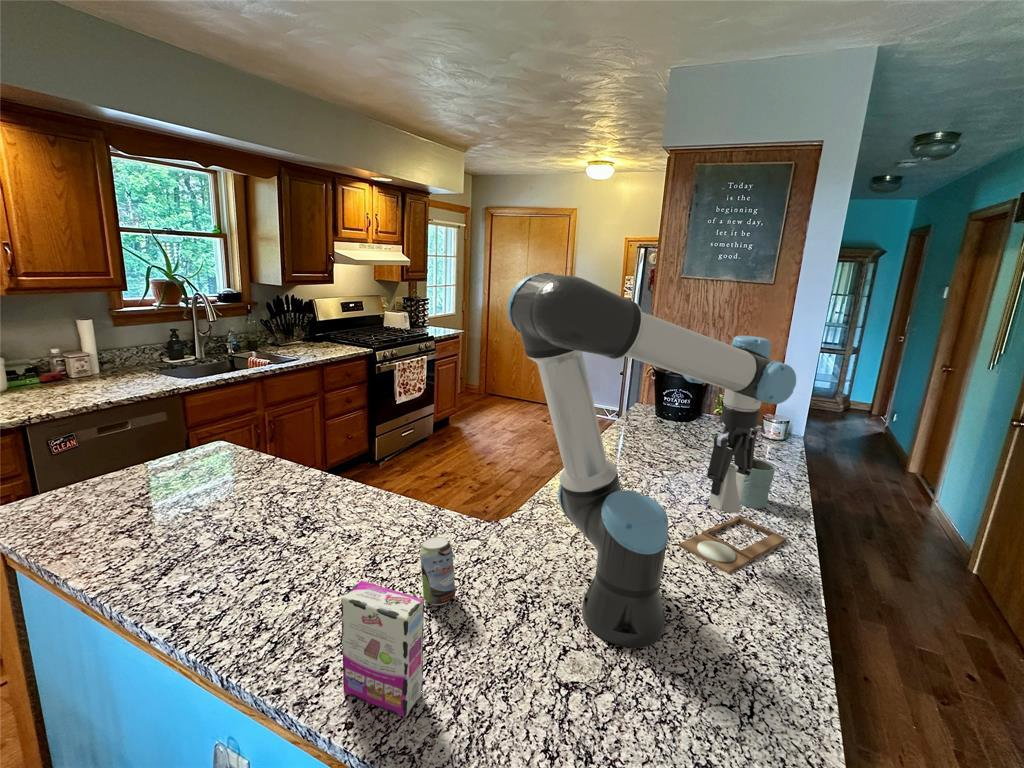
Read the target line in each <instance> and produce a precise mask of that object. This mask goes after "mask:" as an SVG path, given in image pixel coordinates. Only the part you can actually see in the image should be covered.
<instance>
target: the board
mask: <svg viewBox="0 0 1024 768" xmlns="http://www.w3.org/2000/svg"><path fill="white" fill-rule="evenodd" d="M738 523H742V524H743V525H746V526H747V527H750V528H751V529H753V530H756V531H758V532H761V533H762V534H764V535H766V537H764V538H763V539H761V540H758V541H757V542H754V543H753V544H750V545H749V546H747V547H745V548H743V549H741V550H740V549H739V548H737V547H735V546H734V545H731V544H730V543H728V542H725V541H724V540H722V539H719V538H718V537H716V536H714V535H713V534H716V533H718V532H720V531H722V530H724V529H727V528H729V527H731V526H734V525H736V524H738ZM787 541H788V537H785V536H783V535H781V534H779V533H778V532H776V531H775V532H774V531H772V530H770V529H768V528H766V527H763V526H761V525H760V524H757V523H755V522H753V521H751V520H748V519H746V518H744V517H741V516H740V515H737V516H736V517H733V518H731V519H729V520H726V521H724V522H722V523H720V524H716V525H715V526H712V527H710V528H708V529H706V530H704V531H701V533H700V534H697V535H695V536H692V537H691V538H688V539H686V540H684V541H682V542H679V543H678V547H680V548H682V549H684V550H686V551H688V552H689V553H691V554H692V555H694V556H696V557H698V558H699V559H702V560H704V561H705V562H707V563H709V564H710V565H712V566H713V567H716V568H717V569H719V570H721V571H723V572H725V573H726V574H730V573H732V572H734V571H736V570H738V569H739V568H741V567H743V566H745V565H747V564H749V563H750V562H752V561H754V560H756V559H758V558H760V557H761V556H763V555H765V554H767V553H768V552H771V551H773V550H774V549H776V548H777V547H778V548H779V547H780V546H783V544H785V543H787Z"/></svg>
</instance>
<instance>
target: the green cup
mask: <svg viewBox="0 0 1024 768" xmlns="http://www.w3.org/2000/svg"><path fill="white" fill-rule="evenodd" d="M747 464H748V463H747ZM748 471H750V472H751V473H750V475H749V476H748V475H746V474H745V478H744V484H743V489H742V495H741V500H740V504H741V506H743V507H747V508H750V509H757V510H758V509H764V508H766V506H767V503H768V500H769V494H770V493H769V492H770V491H771V485H772V483H773V479H774V475H775V472H776V466H775V465H774V464H773V463H771V462H770V461H767V460H763V459H760V458H756V457H753V464H752V469H751V470H748Z"/></svg>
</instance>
